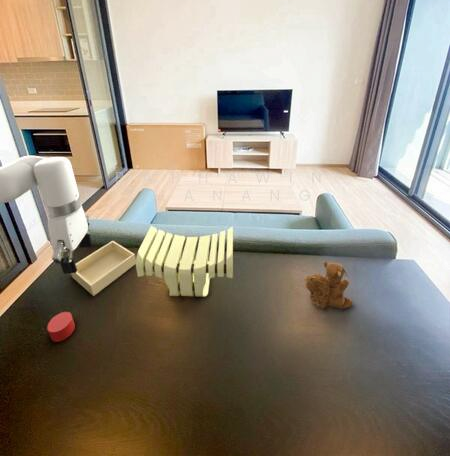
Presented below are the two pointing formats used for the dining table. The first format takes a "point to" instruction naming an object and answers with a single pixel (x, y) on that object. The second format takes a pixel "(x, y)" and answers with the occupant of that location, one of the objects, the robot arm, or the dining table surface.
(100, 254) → the bin
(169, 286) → the slatted curved stool
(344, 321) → the dining table surface
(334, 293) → the stuffed squirrel
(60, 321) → the disc
